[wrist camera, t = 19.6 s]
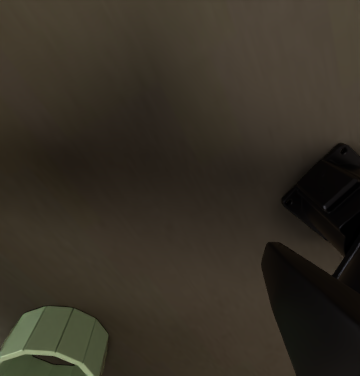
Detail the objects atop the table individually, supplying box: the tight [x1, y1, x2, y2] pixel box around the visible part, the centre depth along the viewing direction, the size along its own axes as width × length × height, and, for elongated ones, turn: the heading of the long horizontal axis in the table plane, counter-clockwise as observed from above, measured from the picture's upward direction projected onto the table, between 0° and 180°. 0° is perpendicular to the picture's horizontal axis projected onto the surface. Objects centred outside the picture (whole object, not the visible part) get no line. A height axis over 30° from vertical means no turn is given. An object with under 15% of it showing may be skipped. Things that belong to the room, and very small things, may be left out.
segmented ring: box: [0, 306, 109, 376], centre depth 26 cm, size 10×10×4 cm
